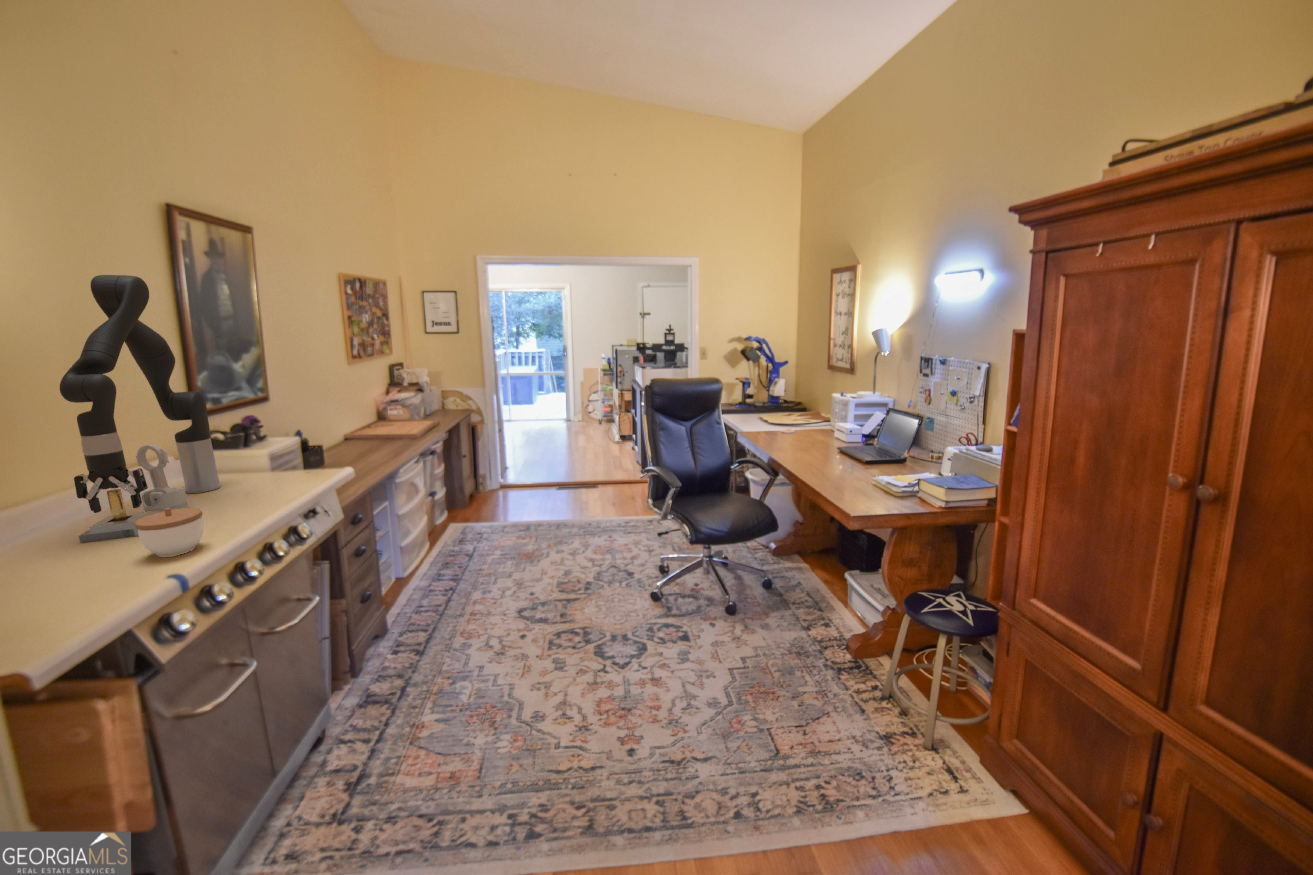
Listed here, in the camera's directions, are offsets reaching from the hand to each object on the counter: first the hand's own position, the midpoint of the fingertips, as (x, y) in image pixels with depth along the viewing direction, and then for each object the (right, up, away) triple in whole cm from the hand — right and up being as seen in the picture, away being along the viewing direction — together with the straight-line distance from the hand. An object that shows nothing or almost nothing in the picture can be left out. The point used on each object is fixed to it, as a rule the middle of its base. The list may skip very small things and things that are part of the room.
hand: (117, 509), depth 158 cm
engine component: (-3, -3, +20) cm, 20 cm away
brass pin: (0, -6, +1) cm, 7 cm away
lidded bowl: (+27, -9, -14) cm, 32 cm away
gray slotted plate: (+3, -6, +2) cm, 7 cm away
